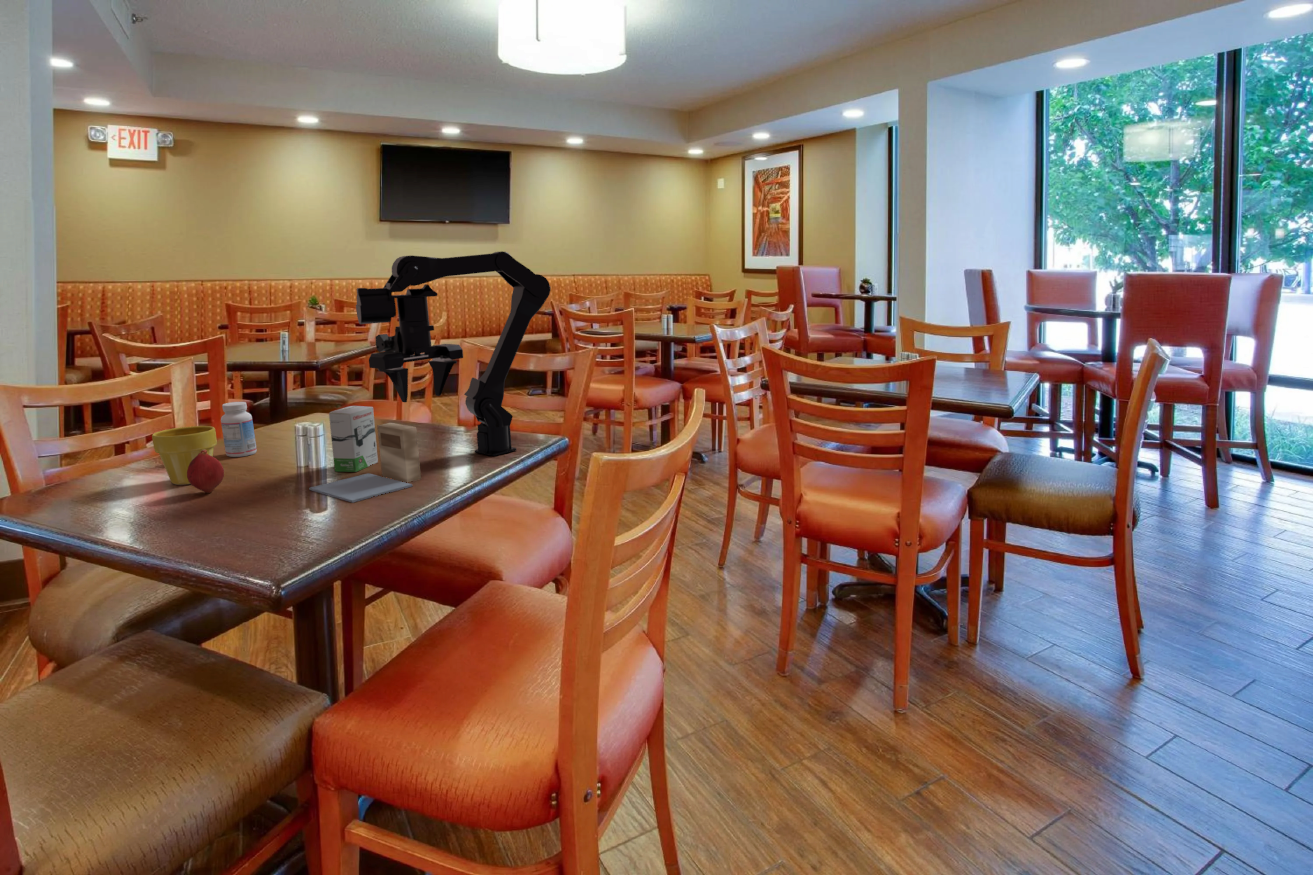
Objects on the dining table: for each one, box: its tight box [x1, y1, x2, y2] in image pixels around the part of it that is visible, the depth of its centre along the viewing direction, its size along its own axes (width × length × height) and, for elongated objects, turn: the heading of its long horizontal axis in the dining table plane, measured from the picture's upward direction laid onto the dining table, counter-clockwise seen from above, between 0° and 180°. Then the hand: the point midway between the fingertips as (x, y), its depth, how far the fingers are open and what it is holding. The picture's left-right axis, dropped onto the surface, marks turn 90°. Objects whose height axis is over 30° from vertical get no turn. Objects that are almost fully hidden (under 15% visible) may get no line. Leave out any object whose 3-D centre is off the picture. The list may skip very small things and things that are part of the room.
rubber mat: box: [309, 472, 413, 503], centre depth 146 cm, size 12×14×1 cm
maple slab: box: [377, 422, 422, 483], centre depth 151 cm, size 3×8×10 cm, turn 52°
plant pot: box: [151, 425, 218, 486], centre depth 153 cm, size 10×10×10 cm
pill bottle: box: [220, 401, 258, 458], centre depth 173 cm, size 6×6×11 cm
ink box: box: [328, 405, 379, 473], centre depth 160 cm, size 9×5×12 cm, turn 168°
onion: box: [187, 449, 225, 494], centre depth 144 cm, size 6×6×8 cm
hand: (421, 398), depth 162 cm, fingers open, 8 cm apart
